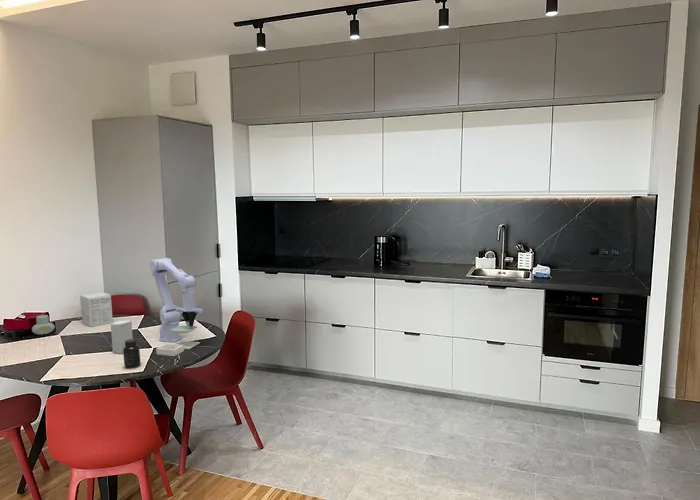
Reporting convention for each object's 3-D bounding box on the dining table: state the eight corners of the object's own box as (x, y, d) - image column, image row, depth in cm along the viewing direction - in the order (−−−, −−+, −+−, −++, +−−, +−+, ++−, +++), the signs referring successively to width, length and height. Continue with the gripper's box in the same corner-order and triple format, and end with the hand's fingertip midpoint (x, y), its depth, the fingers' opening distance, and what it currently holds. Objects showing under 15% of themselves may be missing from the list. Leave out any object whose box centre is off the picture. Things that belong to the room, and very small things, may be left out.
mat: (168, 347, 248) (168, 346, 248) (180, 341, 258) (180, 340, 258) (189, 349, 245) (189, 348, 245) (200, 342, 255) (200, 342, 255)
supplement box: (113, 322, 297) (111, 294, 295) (90, 327, 287) (88, 298, 285) (104, 319, 305) (102, 291, 303) (81, 323, 296) (79, 295, 293)
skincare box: (121, 354, 239) (119, 324, 237) (111, 353, 241) (109, 323, 239) (134, 348, 247) (132, 320, 245) (124, 347, 249) (122, 319, 247)
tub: (156, 354, 238) (156, 348, 237) (166, 349, 245) (166, 343, 245) (174, 356, 235) (174, 350, 235) (184, 350, 243) (183, 345, 242)
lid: (170, 333, 248) (169, 322, 247) (179, 328, 256) (178, 318, 255) (188, 334, 245) (187, 323, 245) (197, 329, 253) (196, 318, 253)
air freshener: (33, 337, 269) (31, 319, 268) (31, 333, 276) (29, 316, 274) (56, 333, 276) (54, 315, 275) (53, 330, 282) (52, 313, 281)
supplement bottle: (127, 363, 226) (125, 338, 224) (142, 363, 226) (141, 338, 225) (121, 369, 219) (120, 343, 217) (137, 368, 219) (135, 342, 218)
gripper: (171, 301, 246) (172, 327, 247) (196, 302, 242) (198, 329, 244) (179, 298, 253) (181, 323, 254) (204, 299, 249) (205, 325, 251)
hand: (190, 326), depth 249 cm, fingers closed on lid
